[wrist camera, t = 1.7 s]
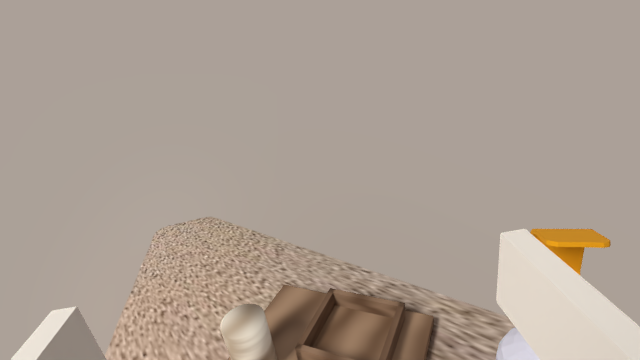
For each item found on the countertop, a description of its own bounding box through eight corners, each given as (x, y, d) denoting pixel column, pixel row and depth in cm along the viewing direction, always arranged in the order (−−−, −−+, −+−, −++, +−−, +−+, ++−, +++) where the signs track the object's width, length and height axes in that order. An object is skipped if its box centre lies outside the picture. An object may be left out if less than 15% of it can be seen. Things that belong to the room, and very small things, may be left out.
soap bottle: (502, 472, 34) (521, 266, 24) (486, 384, 42) (496, 202, 32) (613, 492, 32) (685, 271, 22) (574, 395, 40) (614, 200, 30)
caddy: (433, 323, 51) (431, 271, 47) (404, 454, 37) (399, 393, 33) (286, 291, 62) (275, 246, 59) (219, 381, 48) (199, 329, 44)
